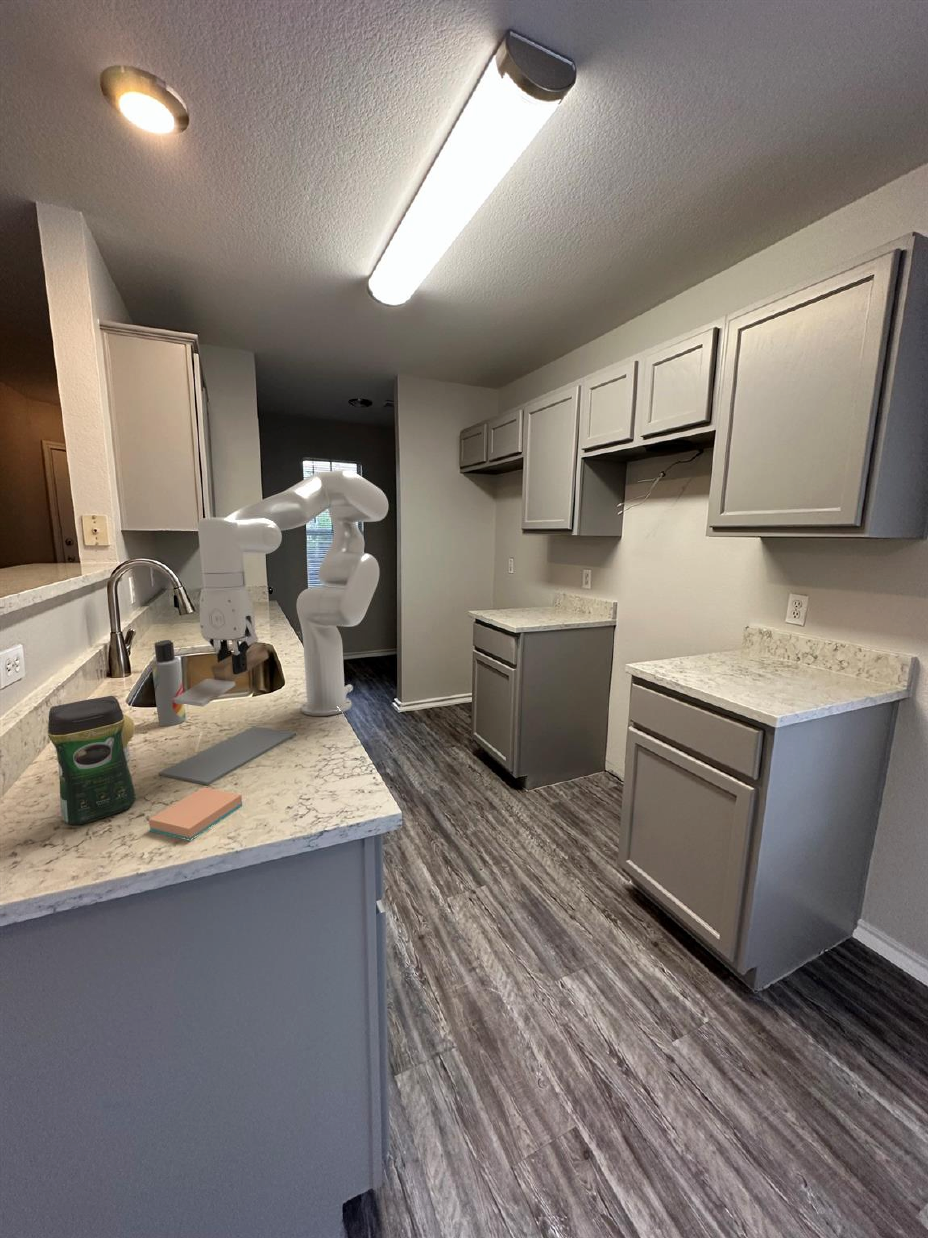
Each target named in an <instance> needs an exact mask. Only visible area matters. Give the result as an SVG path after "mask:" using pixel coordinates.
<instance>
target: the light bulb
mask: <svg viewBox="0 0 928 1238" xmlns="http://www.w3.org/2000/svg"><path fill="white" fill-rule="evenodd" d="M123 716H124V726H123V729H122V742H123V748H124V752H125V757H126V760H127V763H128V762H129V761H130V760H131V755H130V754H131V753H130V746H129V745H128V743H130V742H131V740H132V737H133V736H134V733H135V727H136V726H135V723H134V720H133V719H132V718H131V717H130V716H128V715H127V714H123Z"/></svg>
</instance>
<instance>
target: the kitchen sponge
mask: <svg viewBox="0 0 928 1238" xmlns="http://www.w3.org/2000/svg"><path fill="white" fill-rule="evenodd" d="M242 807H243V797H242V794H240V793H235V792H229V791H225V790H219V789H214V788H210V787H204V786H203V787H202V788H200V789H198V790H196V791H194V792H193V793H191V794H190V795H188V796H186V797H185V798H183V799H181V800H180V801H178V802H175V803H174V804H173V805H171V806H169V807H167V808H165V809H164V810H162V811H160V812H158V813H157V814H155V815H154V816H152V817H150V818H149V819H148V823H149V831H150V832H154V833H156V834H161V835H165V836H168V837H172V836H173V837H174V836H175V837H174V838H176V837H180V838H185V839H189V840H191V839H192V838H194V837H195V836H197V835H199V834H200V833H202V832H203V831H205V830H206V829H208V828H209V827H211V826H212V825H214V824H215V823H216V824H218V823H220V822H221V821H222V820H223V819H225V818H227V817H228V816H229V815H231V814H232V813H234V812H235V811H237V810H239V809H240V808H242ZM221 819H222V820H221ZM220 820H221V821H220ZM216 824H215V825H216ZM212 827H213V826H212ZM212 827H211V828H212ZM209 829H210V828H209ZM209 829H208V830H209ZM206 831H207V830H206ZM206 831H205V832H206ZM203 833H204V832H203ZM203 833H202V834H203ZM200 835H201V834H200ZM200 835H199V836H200ZM197 837H198V836H197ZM180 838H179V839H180ZM194 839H195V838H194Z"/></svg>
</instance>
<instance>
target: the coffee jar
mask: <svg viewBox="0 0 928 1238" xmlns="http://www.w3.org/2000/svg"><path fill="white" fill-rule="evenodd" d="M123 715H124V712H123V710H122V708H121V705H120V702H119V700H118V699H117V698H116V696H114V695H107V696H102V697H96V698H90V699H84V700H80V701H74V702H73V701H72V702H69V703H65V704H64V703H63V704H59V705H54V706H51V708H50V709H49V712H48V724H47V726H48V727H47V728H48V729H47V735H48V738H49V741H50V742H51V744H52V745H53V746H54V747H55V751H56V755H57V756H56V757H57V762H58V763H57V764H58V775H59V776H58V777H59V801H60V803H59V805H60V813H61V817H62V820H63V821H64V823H66V824H69V825H76V826H77V825H82V824H86V823H90V822H94V821H97V820H100V819H102V818H103V819H104V818H105V817H109V816H112V815H114V814H115V815H116V814H117V813H120V812H122V811H125V810H127V809H128V808H130V807H131V806H132V805H133V804H134V803H135V801H136V792H135V787H134V786H135V785H134V782H133V778H132V776H131V771H130V768H129V765H128V762H127V760H126V757H125V752H124V748H123V742H122V729H123V726H124V716H123Z"/></svg>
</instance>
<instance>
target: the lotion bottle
mask: <svg viewBox="0 0 928 1238" xmlns="http://www.w3.org/2000/svg"><path fill="white" fill-rule="evenodd" d="M153 647H154V653H155V660H154V661H153V662H152V663H151V668H152V680H153V688H154V694H155V704H156V711H157V721H158V724H159V726H164V727H168V726H169V727H171V726H174V725H175V726H176V725H179V724H182V723H183V722H185V721H186V720H187V719H186V718H187V717H186V708H185V707H186V706H185V705H186V704H180V703H174V700H173V699H174V698H176V697H177V696H179V695H181V694H182V693H184V689H183V679H182V671H181V670H182V669H181V661H180V659H178V658H176V656H175V647H174V642H173V641H172V640H171V639H164V640H160V641H156V642H155V643H153Z"/></svg>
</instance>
